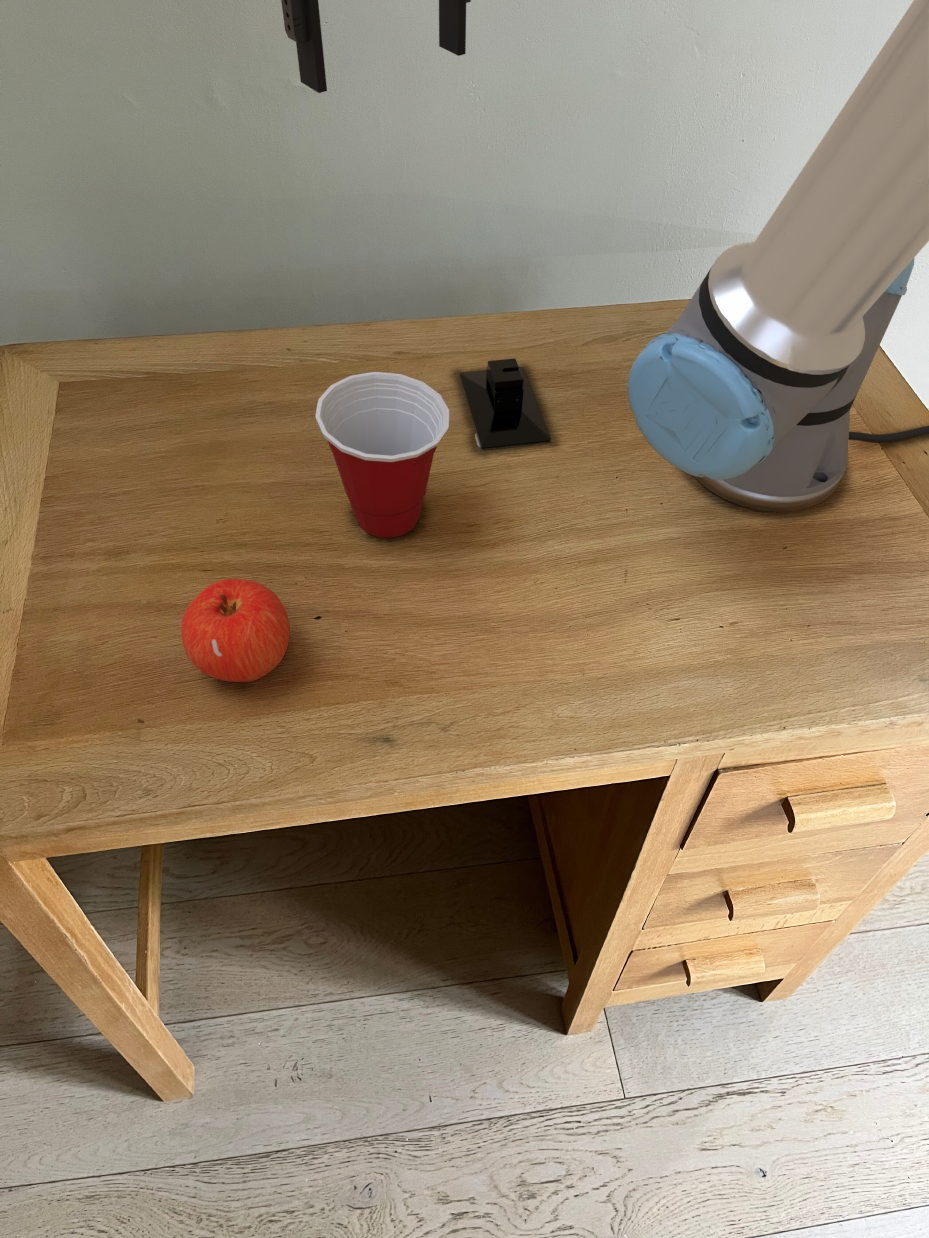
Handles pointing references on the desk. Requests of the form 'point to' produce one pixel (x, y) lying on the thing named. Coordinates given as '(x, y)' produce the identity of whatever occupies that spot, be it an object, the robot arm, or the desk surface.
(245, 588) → the apple
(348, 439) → the plastic cup
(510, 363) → the black stand
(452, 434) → the desk surface
